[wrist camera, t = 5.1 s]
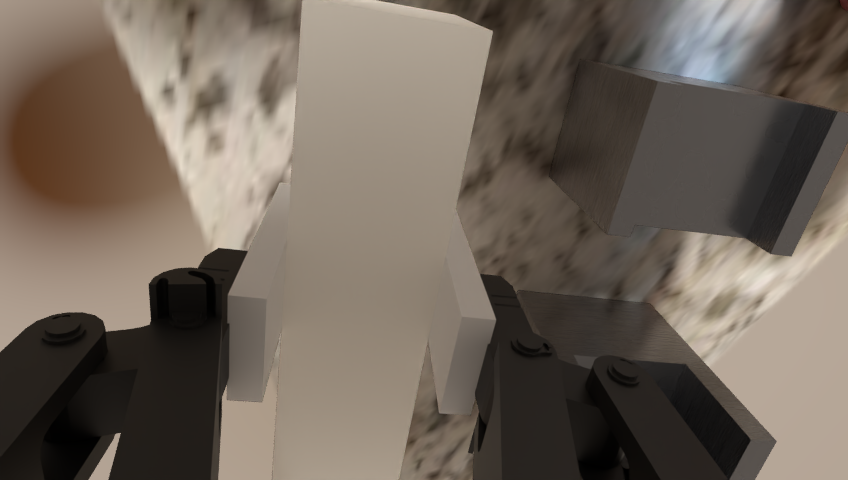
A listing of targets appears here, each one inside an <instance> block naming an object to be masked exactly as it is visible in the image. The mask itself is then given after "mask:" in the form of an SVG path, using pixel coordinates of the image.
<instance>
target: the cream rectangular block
mask: <svg viewBox="0 0 848 480" xmlns="http://www.w3.org/2000/svg"><path fill="white" fill-rule="evenodd" d="M492 34H493V31H491V30H489V29H487V28H484V27H482V26H480V25H477V24H475V23H473V22H470V21H468V20H466V19H464V18H461V17H459V16H457V15H454V14H448V13H443V12H437V11H432V10H426V9H421V8H415V7H410V6H404V5H399V4H393V3H388V2H382V1H377V0H302V11H301V27H300V43H299V59H298V75H297V91H296V106H295V122H294V138H293V154H292V170H291V185H290V201H289V217H288V233H287V251H286V267H285V284H284V300H283V316H282V329H281V344H280V360H279V375H278V391H277V407H276V423H275V440H274V455H273V471H272V480H399V477H400V472H401V467H402V463H403V458H404V453H405V448H406V444H407V439H408V434H409V429H410V424H411V420H412V415H413V410H414V405H415V401H416V396H417V391H418V386H419V382H420V377H421V372H422V367H423V363H424V358H425V353H426V348H427V344H428V338H429V333H430V329H431V324H432V319H433V314H434V309H435V305H436V300H437V295H438V290H439V285H440V280H441V276H442V271H443V266H444V261H445V256H446V253H447V248H448V244H449V239H450V234H451V229H452V225H453V220H454V215H455V210H456V205H457V201H458V196H459V191H460V186H461V182H462V177H463V172H464V167H465V163H466V158H467V153H468V148H469V144H470V139H471V134H472V129H473V125H474V120H475V115H476V110H477V106H478V101H479V96H480V91H481V86H482V82H483V77H484V72H485V67H486V63H487V58H488V53H489V48H490V44H491V39H492Z"/></svg>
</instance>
